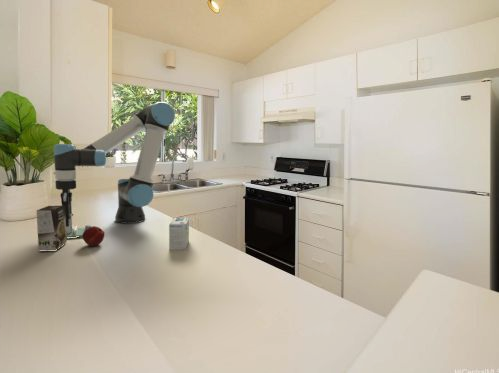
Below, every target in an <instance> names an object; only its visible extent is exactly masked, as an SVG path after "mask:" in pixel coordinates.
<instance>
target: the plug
mask: <svg viewBox="0 0 499 373" xmlns="http://www.w3.org/2000/svg"><path fill="white" fill-rule="evenodd" d="M72 214H73V213H72ZM72 214H70V218H71V233H72V229H73V216H72ZM68 234H69V233H68Z"/></svg>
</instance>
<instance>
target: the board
mask: <svg viewBox="0 0 499 373" xmlns="http://www.w3.org/2000/svg"><path fill="white" fill-rule="evenodd" d="M90 227H92V225H91V224H87V225H85V226H84V227H79V225H75V227H74V228H72V233H69V234H66V237H76V236H79V237H81V238H80V239H83V238H82V235H83V233H84V231H86V230H87V229H88V228H90Z"/></svg>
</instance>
